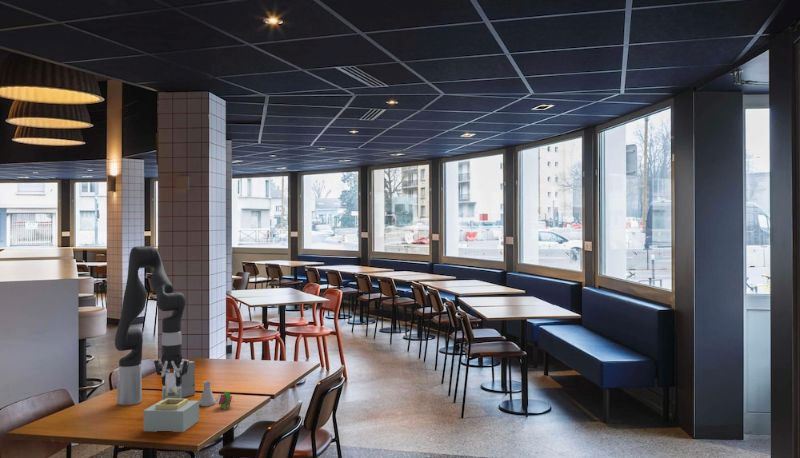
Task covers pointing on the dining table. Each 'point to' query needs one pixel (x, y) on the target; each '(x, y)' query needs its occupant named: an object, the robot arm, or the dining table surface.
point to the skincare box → (188, 380)
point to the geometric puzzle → (224, 400)
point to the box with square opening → (171, 415)
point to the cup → (171, 396)
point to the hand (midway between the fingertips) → (171, 385)
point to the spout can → (171, 383)
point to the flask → (207, 395)
